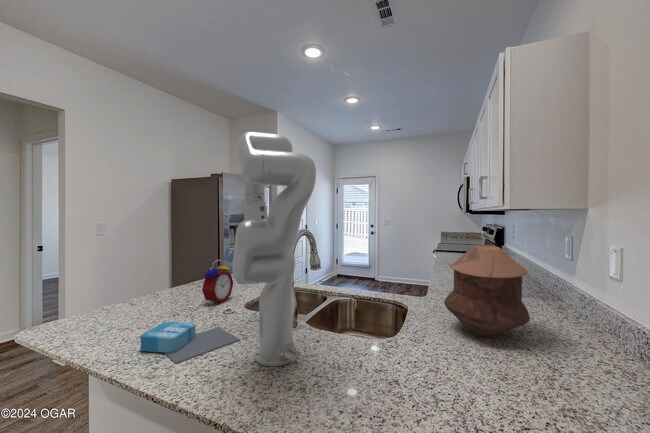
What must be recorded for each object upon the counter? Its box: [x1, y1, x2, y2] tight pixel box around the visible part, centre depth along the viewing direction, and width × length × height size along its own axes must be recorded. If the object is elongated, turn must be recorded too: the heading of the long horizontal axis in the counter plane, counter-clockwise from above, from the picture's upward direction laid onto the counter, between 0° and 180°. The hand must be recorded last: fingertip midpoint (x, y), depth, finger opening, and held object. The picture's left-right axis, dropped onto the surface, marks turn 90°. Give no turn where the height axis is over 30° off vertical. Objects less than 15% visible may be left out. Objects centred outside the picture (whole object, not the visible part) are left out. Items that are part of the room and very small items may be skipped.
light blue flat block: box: [140, 321, 196, 354], centre depth 93 cm, size 12×4×12 cm
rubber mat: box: [163, 326, 241, 365], centre depth 94 cm, size 15×20×1 cm
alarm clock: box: [201, 259, 234, 306], centre depth 137 cm, size 15×9×20 cm, turn 162°
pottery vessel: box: [443, 244, 531, 338], centre depth 101 cm, size 26×26×30 cm
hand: (255, 245), depth 113 cm, fingers closed
